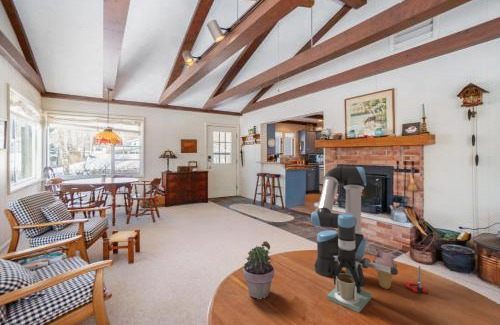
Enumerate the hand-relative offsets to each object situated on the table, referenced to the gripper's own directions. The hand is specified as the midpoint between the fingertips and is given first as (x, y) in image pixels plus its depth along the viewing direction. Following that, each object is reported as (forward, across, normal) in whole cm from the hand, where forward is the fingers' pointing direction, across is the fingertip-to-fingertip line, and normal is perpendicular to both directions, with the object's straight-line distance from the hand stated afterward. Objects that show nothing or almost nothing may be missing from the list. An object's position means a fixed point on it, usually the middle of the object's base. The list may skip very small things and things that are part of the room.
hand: (346, 295), depth 114 cm
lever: (-12, +11, +8) cm, 19 cm away
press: (+3, 0, +3) cm, 4 cm away
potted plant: (+3, -34, -25) cm, 42 cm away
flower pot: (+1, 0, 0) cm, 1 cm away
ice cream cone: (+3, +9, +26) cm, 28 cm away
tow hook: (+3, +21, +35) cm, 41 cm away
